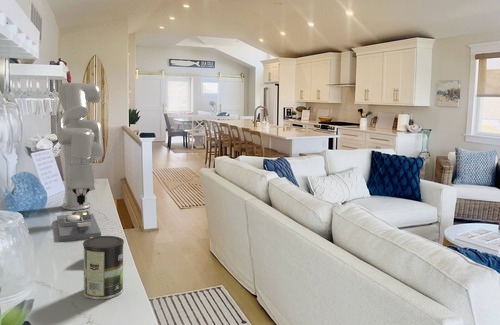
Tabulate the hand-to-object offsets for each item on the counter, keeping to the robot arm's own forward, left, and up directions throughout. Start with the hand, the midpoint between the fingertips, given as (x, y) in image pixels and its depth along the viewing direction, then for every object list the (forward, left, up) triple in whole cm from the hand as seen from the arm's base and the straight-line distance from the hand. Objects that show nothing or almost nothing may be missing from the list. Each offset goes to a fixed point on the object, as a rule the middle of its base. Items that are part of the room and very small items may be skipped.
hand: (81, 204), depth 176 cm
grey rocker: (+19, 0, -4) cm, 20 cm away
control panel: (+10, -2, -7) cm, 13 cm away
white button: (+10, -3, -4) cm, 12 cm away
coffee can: (+70, 0, -8) cm, 71 cm away
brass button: (+1, 0, -5) cm, 5 cm away
